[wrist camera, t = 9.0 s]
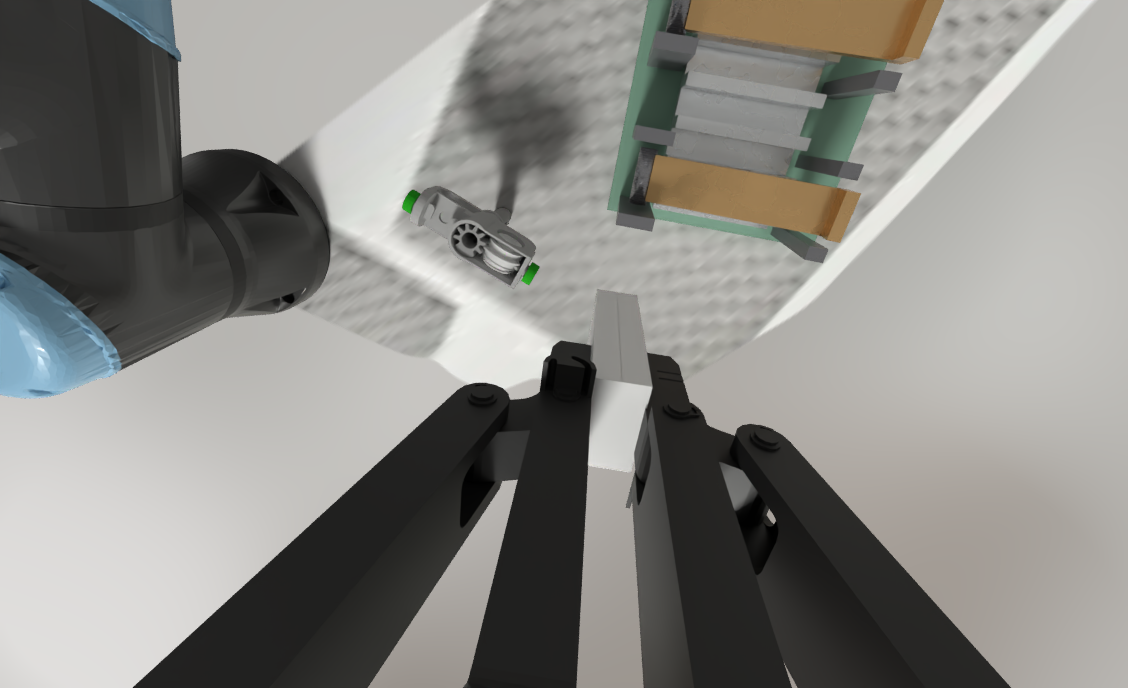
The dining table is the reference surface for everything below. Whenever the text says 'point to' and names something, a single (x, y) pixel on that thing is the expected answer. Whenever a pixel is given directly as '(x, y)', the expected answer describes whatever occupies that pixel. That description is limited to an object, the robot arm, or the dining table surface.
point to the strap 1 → (815, 24)
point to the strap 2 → (742, 195)
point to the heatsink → (745, 107)
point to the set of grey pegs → (681, 49)
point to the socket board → (656, 106)
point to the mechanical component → (474, 233)
